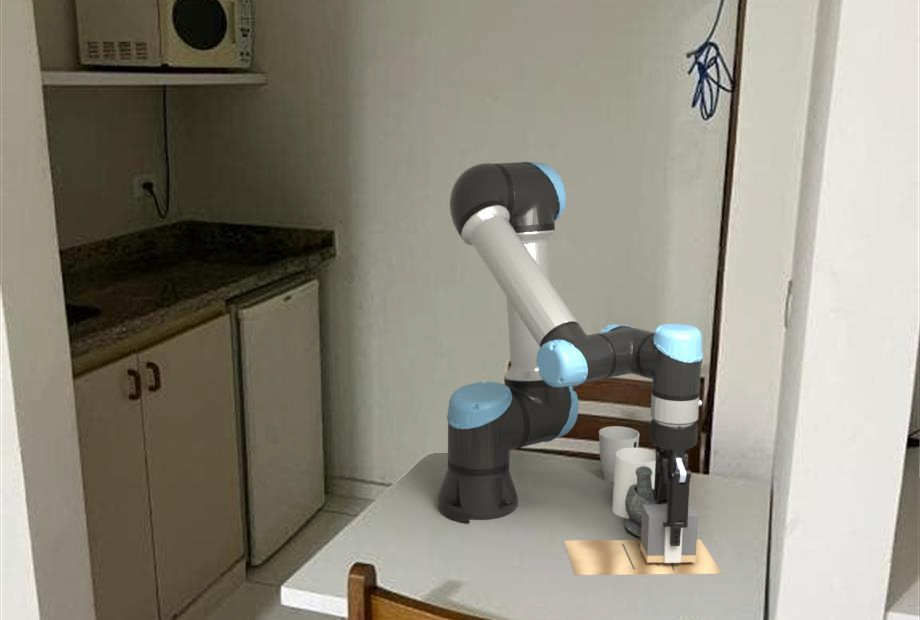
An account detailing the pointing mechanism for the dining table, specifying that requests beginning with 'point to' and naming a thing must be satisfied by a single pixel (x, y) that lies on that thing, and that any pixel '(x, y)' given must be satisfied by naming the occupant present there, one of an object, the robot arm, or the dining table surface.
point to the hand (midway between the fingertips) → (667, 553)
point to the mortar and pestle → (639, 499)
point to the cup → (614, 446)
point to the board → (630, 559)
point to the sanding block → (656, 533)
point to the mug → (629, 474)
